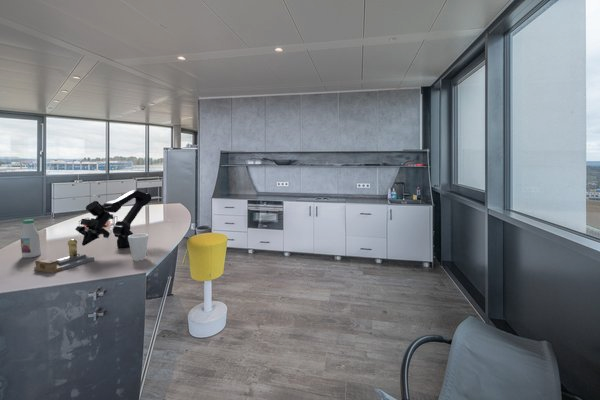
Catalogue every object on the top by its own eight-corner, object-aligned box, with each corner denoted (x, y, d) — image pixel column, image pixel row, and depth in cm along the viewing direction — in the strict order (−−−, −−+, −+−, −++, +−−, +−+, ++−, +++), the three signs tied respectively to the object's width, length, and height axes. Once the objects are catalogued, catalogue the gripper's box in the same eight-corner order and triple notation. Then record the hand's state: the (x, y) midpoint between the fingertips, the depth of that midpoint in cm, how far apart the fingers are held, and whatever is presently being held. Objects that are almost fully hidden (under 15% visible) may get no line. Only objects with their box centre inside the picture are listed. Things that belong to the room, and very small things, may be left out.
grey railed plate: (77, 257, 165) (77, 248, 165) (94, 259, 162) (93, 251, 161) (34, 270, 146) (33, 260, 145) (52, 273, 142) (51, 263, 141)
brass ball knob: (74, 257, 160) (73, 237, 158) (80, 258, 159) (78, 238, 157) (55, 262, 151) (53, 242, 149) (61, 263, 150) (59, 243, 148)
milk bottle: (38, 253, 172) (35, 218, 169) (43, 255, 168) (39, 219, 165) (20, 256, 166) (16, 220, 163) (24, 259, 161) (21, 221, 159)
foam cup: (152, 257, 167) (151, 234, 165) (139, 262, 158) (137, 238, 157) (139, 255, 170) (138, 232, 169) (125, 260, 162) (123, 236, 160)
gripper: (77, 211, 167) (58, 235, 158) (103, 213, 162) (84, 238, 153) (92, 222, 176) (74, 246, 167) (117, 225, 170) (100, 249, 161)
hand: (82, 245), depth 162 cm, fingers closed
